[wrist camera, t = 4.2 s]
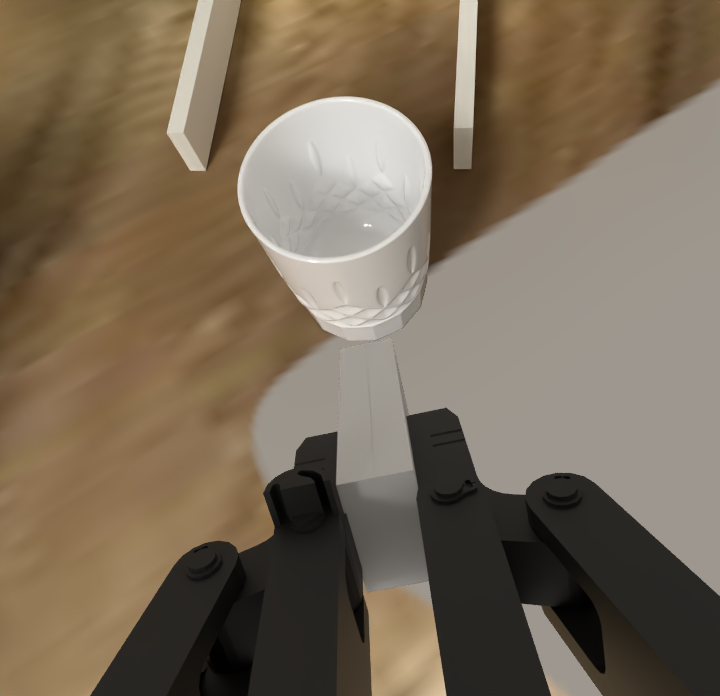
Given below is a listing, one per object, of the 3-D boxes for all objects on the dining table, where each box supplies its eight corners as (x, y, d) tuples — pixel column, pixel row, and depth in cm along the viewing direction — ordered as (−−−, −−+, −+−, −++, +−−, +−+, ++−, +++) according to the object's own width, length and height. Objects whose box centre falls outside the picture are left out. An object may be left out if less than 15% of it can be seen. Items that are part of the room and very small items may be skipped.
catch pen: (471, 168, 36) (473, 127, 33) (190, 170, 39) (166, 132, 36) (478, -30, 41) (480, -82, 38) (230, -16, 44) (213, -64, 41)
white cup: (399, 201, 36) (381, 67, 27) (463, 314, 33) (467, 207, 24) (273, 258, 36) (211, 144, 27) (326, 377, 33) (277, 295, 24)
